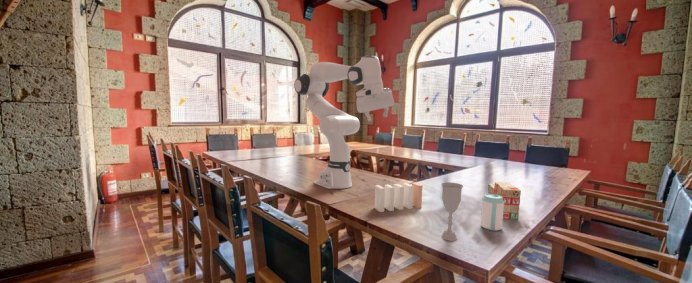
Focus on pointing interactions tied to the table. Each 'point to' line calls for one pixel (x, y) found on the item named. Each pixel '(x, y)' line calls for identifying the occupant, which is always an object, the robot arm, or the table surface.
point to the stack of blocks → (507, 198)
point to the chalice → (451, 206)
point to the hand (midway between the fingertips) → (377, 118)
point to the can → (492, 212)
